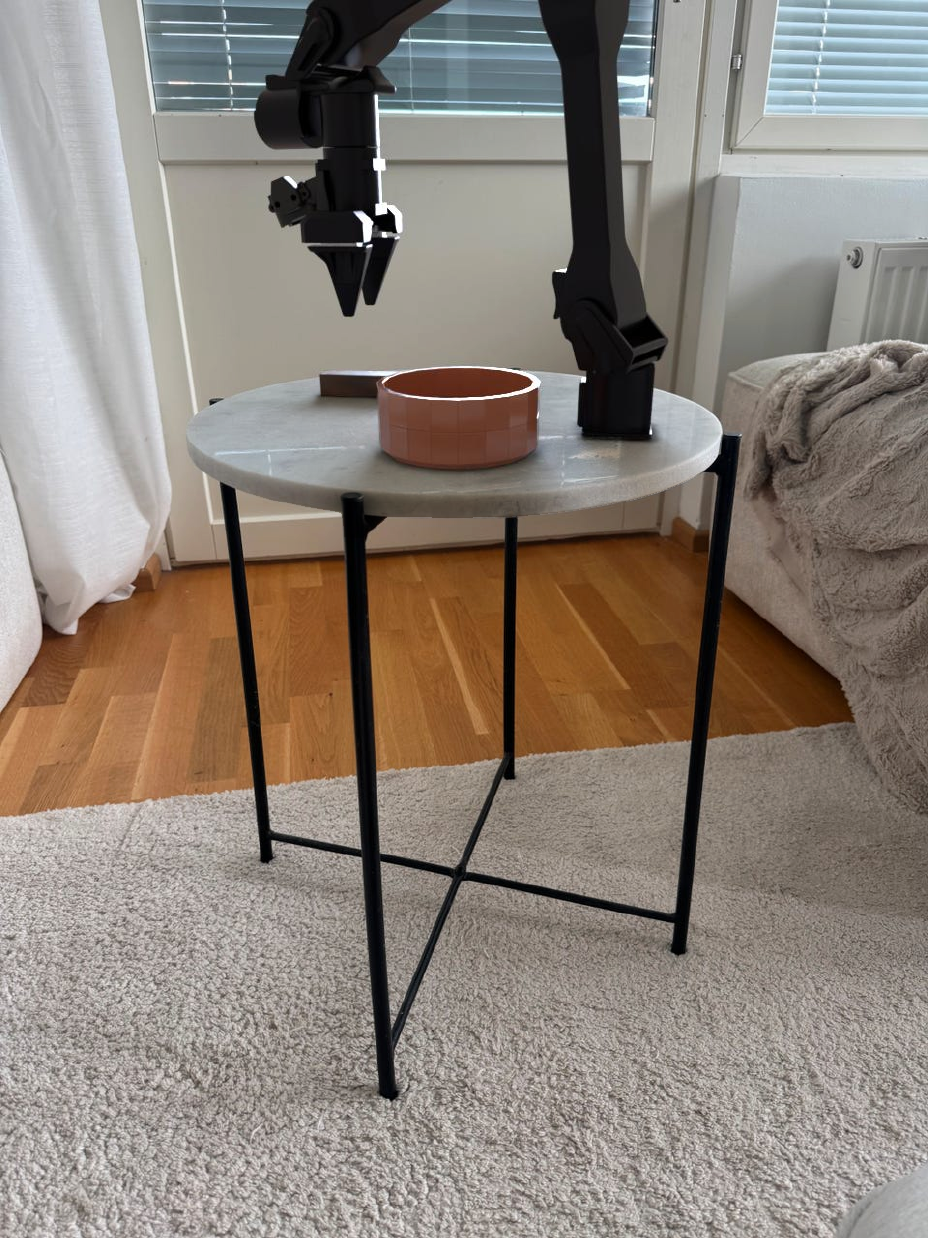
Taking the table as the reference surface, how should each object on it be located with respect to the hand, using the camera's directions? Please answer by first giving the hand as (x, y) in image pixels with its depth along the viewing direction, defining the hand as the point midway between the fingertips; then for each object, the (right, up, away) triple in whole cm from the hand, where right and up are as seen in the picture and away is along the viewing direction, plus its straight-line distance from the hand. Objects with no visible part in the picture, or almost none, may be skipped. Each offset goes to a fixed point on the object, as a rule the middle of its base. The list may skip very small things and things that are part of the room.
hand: (359, 310), depth 99 cm
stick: (0, -8, +5) cm, 9 cm away
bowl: (+11, -18, -16) cm, 26 cm away
